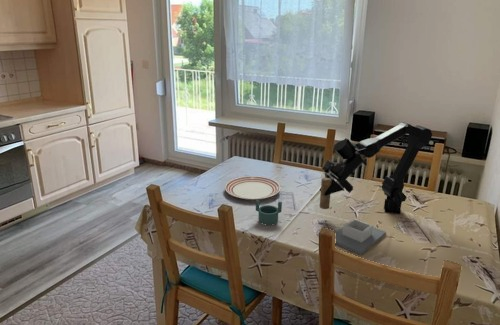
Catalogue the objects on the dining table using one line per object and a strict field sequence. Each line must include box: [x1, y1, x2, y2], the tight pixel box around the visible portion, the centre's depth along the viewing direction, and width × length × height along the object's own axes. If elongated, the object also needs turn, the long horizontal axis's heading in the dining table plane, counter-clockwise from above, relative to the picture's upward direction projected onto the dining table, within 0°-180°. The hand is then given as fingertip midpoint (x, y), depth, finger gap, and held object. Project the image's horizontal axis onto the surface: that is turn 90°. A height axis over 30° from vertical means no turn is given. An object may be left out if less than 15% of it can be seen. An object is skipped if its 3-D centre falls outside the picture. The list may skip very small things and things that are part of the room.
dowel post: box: [319, 177, 332, 210], centre depth 150 cm, size 4×4×12 cm
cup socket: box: [334, 218, 387, 256], centre depth 138 cm, size 20×14×5 cm
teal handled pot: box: [255, 199, 283, 226], centre depth 150 cm, size 9×9×9 cm
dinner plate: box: [224, 175, 282, 201], centre depth 179 cm, size 28×27×3 cm
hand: (322, 192), depth 150 cm, fingers closed on dowel post, 4 cm apart
